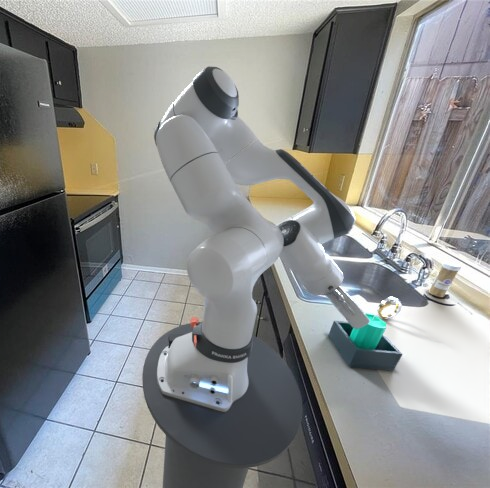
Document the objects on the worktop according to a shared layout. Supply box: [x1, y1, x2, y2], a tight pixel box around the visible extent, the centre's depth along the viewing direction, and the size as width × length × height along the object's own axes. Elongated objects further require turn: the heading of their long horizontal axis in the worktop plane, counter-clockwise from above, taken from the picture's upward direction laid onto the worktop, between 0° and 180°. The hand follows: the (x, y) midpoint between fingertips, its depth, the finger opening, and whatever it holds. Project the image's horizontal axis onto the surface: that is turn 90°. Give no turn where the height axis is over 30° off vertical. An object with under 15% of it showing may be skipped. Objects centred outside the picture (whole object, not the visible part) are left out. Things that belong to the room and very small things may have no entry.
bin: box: [327, 320, 403, 372], centre depth 71 cm, size 11×11×6 cm
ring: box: [376, 296, 403, 320], centre depth 84 cm, size 7×3×8 cm, turn 88°
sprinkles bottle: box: [428, 261, 462, 298], centre depth 98 cm, size 5×5×14 cm
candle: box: [350, 312, 387, 350], centre depth 69 cm, size 6×6×12 cm
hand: (348, 311), depth 66 cm, fingers open, 8 cm apart
